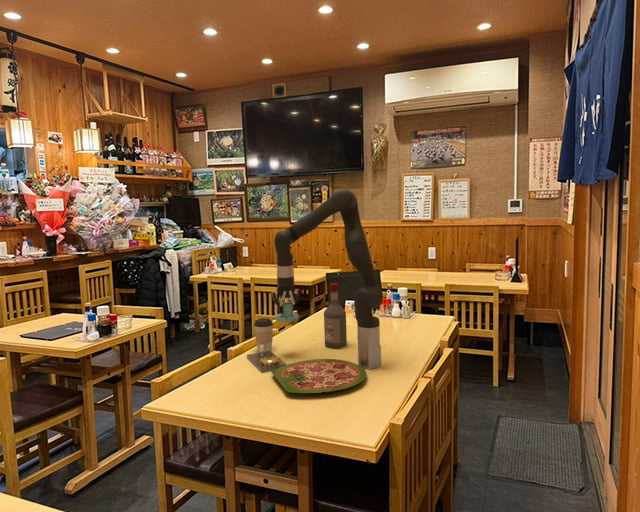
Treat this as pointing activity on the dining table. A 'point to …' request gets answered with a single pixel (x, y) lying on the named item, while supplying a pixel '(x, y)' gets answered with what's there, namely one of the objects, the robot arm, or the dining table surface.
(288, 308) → the teal flanged hub
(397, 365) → the dining table surface
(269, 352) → the plate
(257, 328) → the coffee cup
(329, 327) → the liquor
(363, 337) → the robot arm
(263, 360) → the sun gear
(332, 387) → the pizza
